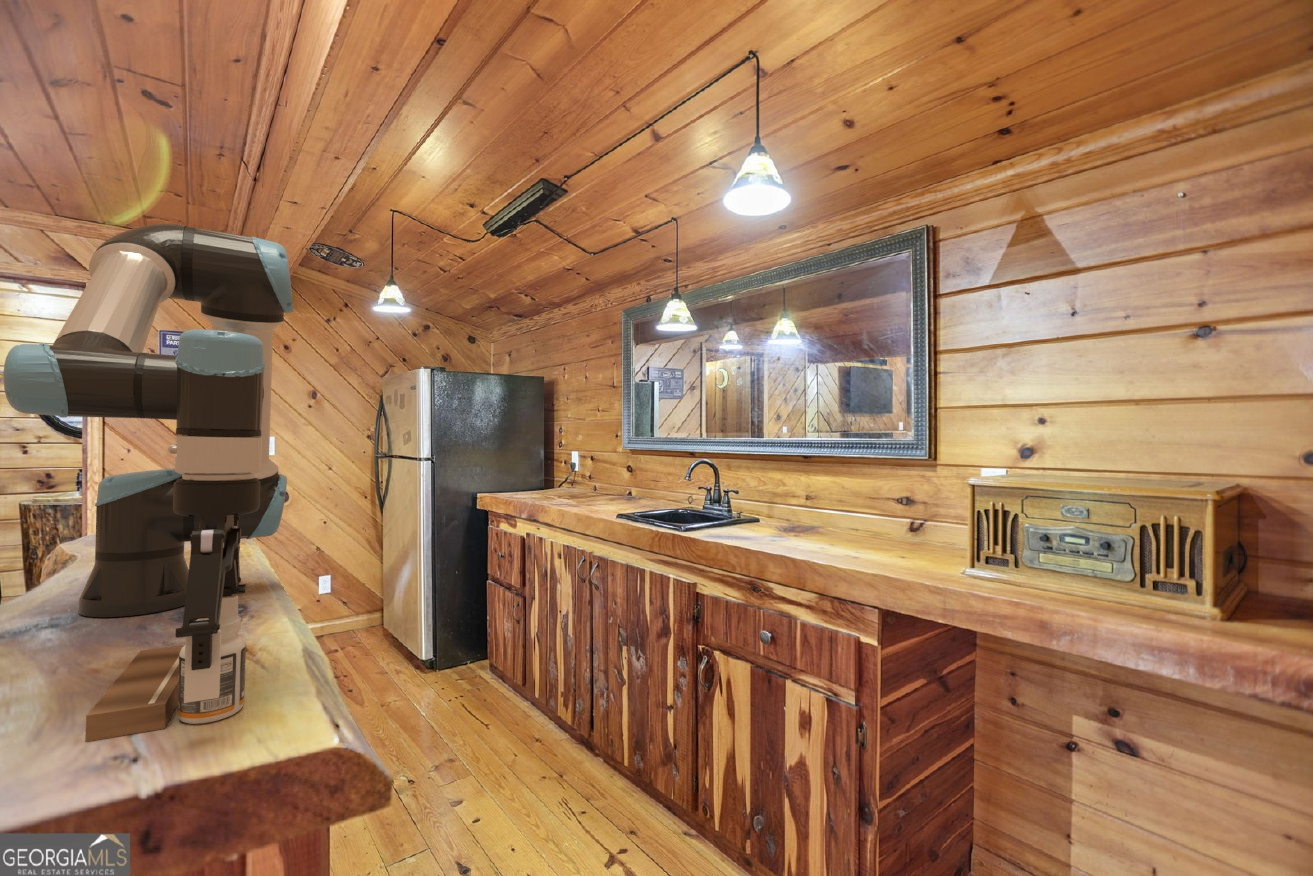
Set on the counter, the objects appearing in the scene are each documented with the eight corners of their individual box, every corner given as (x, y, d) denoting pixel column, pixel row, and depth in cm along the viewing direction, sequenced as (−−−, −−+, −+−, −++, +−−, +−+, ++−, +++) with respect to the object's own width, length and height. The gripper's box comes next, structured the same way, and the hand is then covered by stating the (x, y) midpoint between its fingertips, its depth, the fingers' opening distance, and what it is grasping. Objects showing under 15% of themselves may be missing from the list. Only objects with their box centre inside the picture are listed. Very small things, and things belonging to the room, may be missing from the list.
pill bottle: (201, 702, 67) (203, 613, 67) (255, 701, 67) (257, 613, 67) (163, 726, 61) (166, 629, 61) (223, 725, 62) (226, 629, 62)
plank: (140, 670, 75) (141, 649, 75) (199, 662, 78) (200, 642, 78) (85, 741, 58) (86, 714, 58) (164, 728, 61) (165, 702, 61)
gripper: (196, 468, 73) (191, 641, 74) (143, 487, 52) (136, 733, 52) (269, 468, 77) (264, 633, 77) (248, 486, 55) (241, 716, 55)
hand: (213, 674), depth 64 cm, fingers open, 13 cm apart
